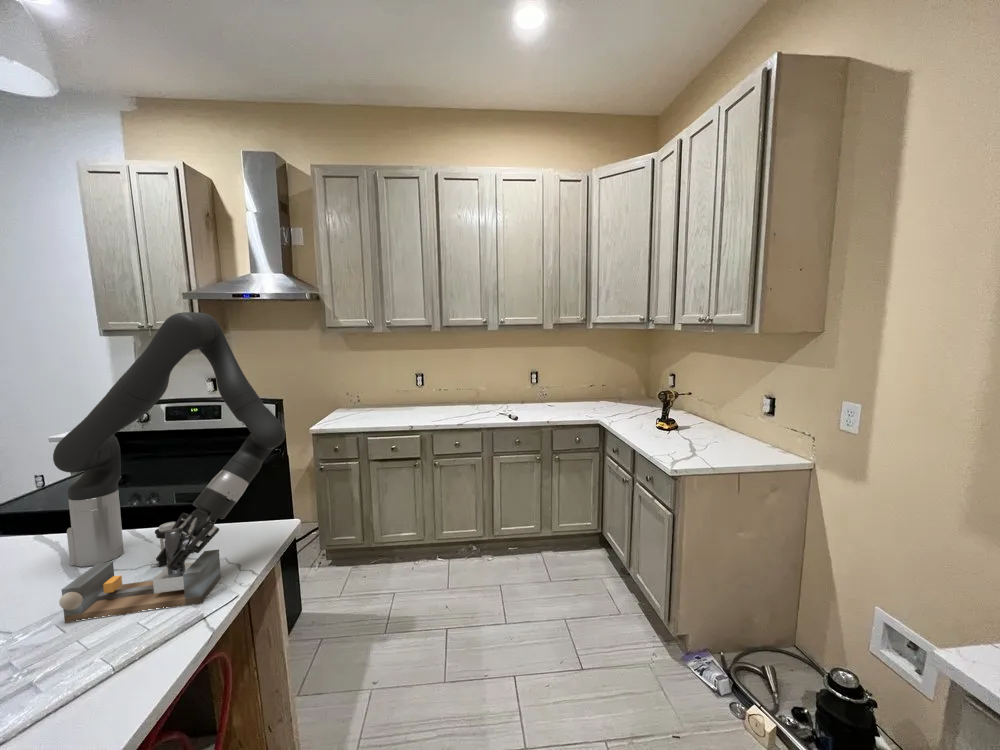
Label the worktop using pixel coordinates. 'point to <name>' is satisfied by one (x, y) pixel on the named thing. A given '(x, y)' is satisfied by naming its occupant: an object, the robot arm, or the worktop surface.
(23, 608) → the worktop surface
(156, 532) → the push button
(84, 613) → the rail base
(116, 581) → the orange block
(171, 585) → the carriage
